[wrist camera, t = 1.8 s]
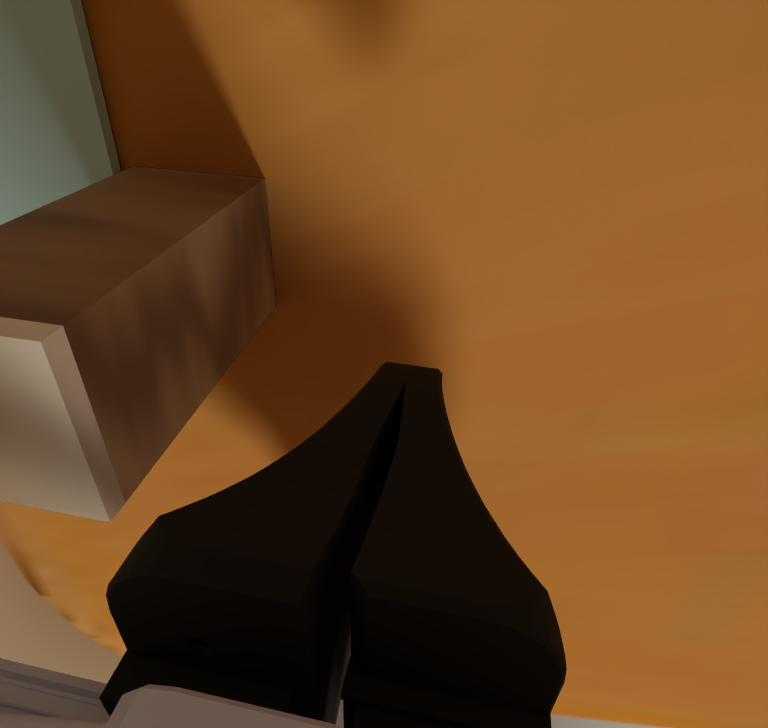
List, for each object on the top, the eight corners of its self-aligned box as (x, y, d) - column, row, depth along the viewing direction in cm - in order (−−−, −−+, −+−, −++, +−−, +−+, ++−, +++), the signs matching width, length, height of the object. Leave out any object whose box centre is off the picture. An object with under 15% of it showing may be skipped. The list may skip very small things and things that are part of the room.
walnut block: (276, 305, 22) (110, 522, 13) (161, 290, 22) (-74, 486, 13) (265, 178, 19) (40, 341, 10) (133, 166, 19) (-188, 308, 11)
